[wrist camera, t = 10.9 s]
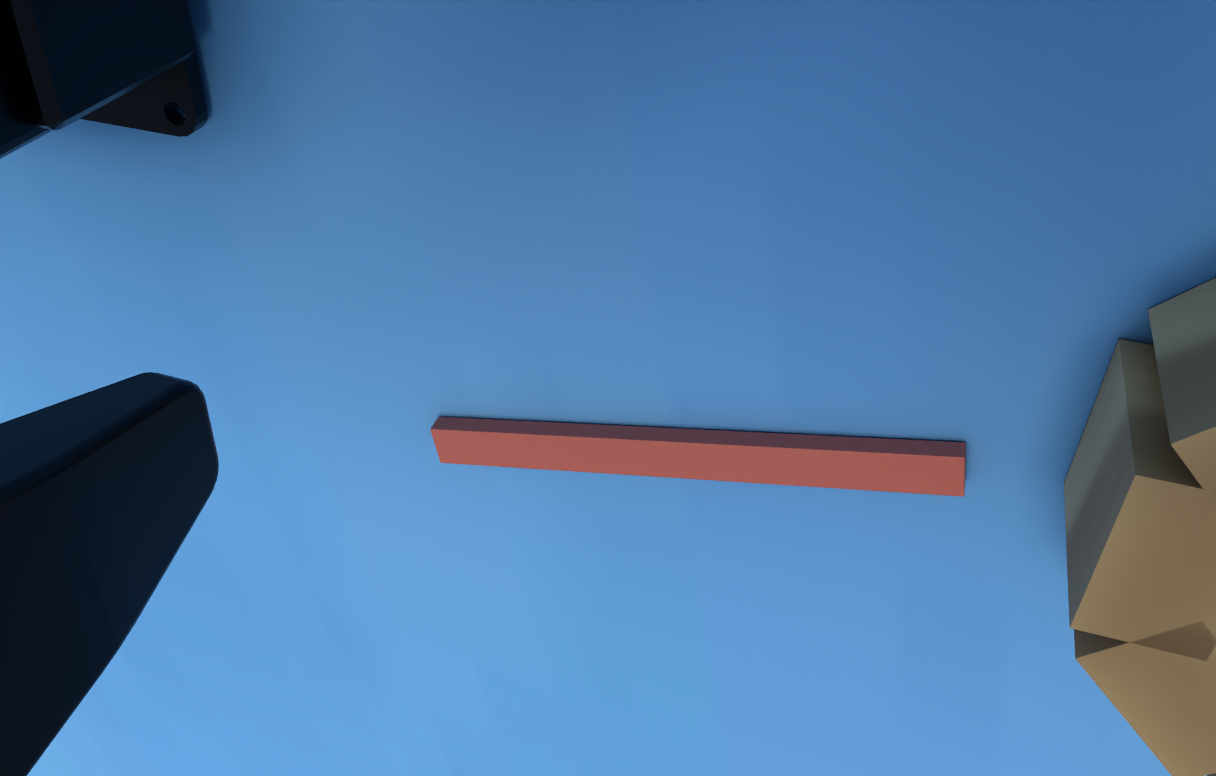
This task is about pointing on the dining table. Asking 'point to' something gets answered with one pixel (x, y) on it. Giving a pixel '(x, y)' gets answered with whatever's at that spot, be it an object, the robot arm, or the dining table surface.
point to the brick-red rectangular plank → (707, 454)
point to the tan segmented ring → (1152, 534)
